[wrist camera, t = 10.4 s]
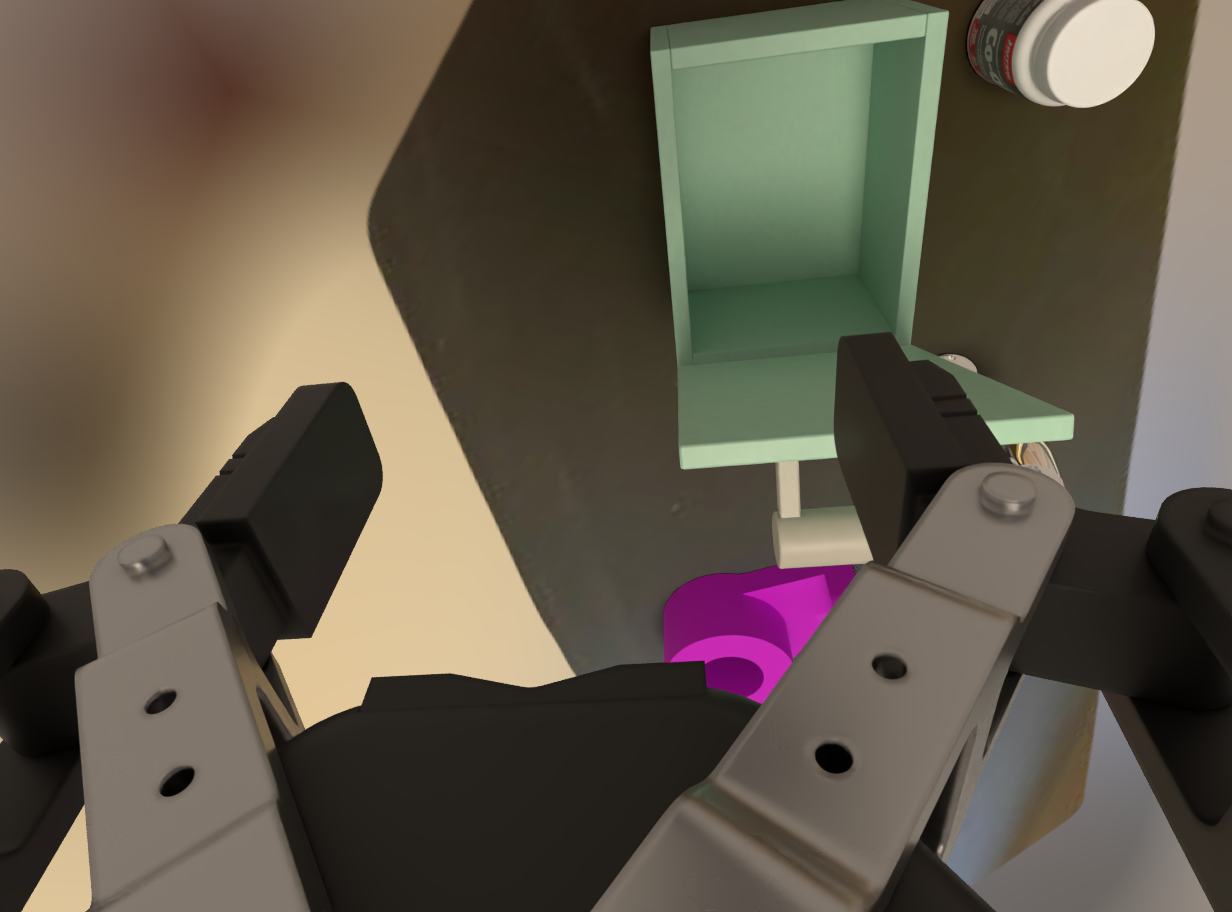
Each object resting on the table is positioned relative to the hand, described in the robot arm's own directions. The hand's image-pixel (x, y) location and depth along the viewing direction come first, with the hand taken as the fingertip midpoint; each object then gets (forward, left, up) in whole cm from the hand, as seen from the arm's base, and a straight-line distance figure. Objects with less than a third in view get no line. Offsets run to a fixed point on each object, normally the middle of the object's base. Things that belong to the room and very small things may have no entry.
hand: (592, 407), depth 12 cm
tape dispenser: (+40, +6, -32) cm, 52 cm away
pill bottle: (0, +19, -32) cm, 37 cm away
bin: (+5, +7, -32) cm, 33 cm away
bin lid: (+9, +7, -16) cm, 19 cm away
